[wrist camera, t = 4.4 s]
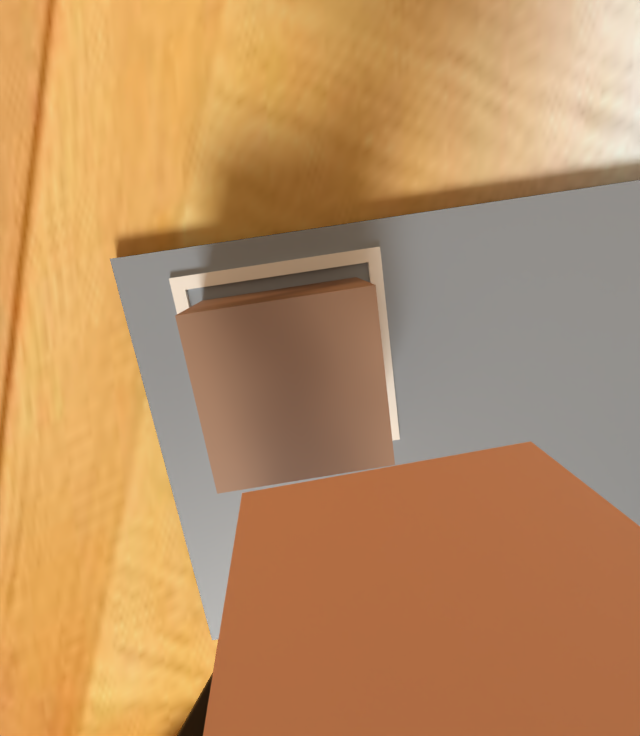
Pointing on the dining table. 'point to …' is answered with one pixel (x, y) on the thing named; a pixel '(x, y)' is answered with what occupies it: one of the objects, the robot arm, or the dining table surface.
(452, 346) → the slate board
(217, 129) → the dining table surface
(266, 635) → the terracotta block
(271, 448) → the walnut block
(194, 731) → the robot arm
